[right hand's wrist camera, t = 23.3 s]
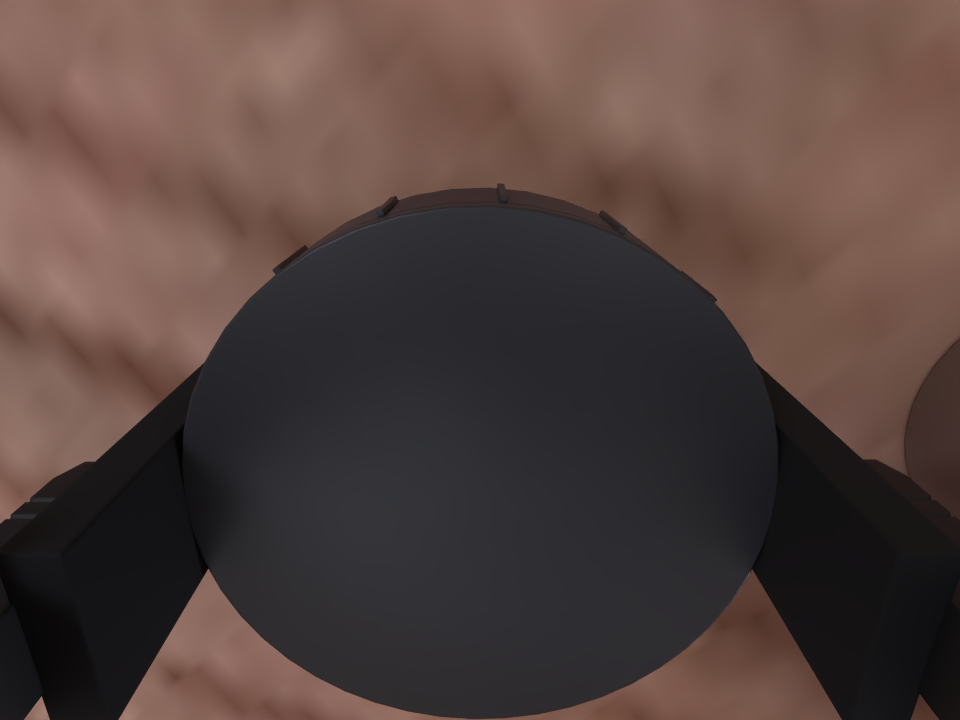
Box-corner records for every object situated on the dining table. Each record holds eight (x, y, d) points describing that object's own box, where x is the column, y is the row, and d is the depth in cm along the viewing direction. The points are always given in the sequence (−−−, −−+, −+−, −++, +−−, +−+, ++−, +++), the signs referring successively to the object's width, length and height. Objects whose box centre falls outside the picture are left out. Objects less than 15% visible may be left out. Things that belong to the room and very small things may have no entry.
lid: (224, 602, 13) (178, 689, 11) (232, 137, 10) (168, 143, 8) (653, 657, 14) (683, 748, 12) (801, 233, 11) (878, 262, 9)
